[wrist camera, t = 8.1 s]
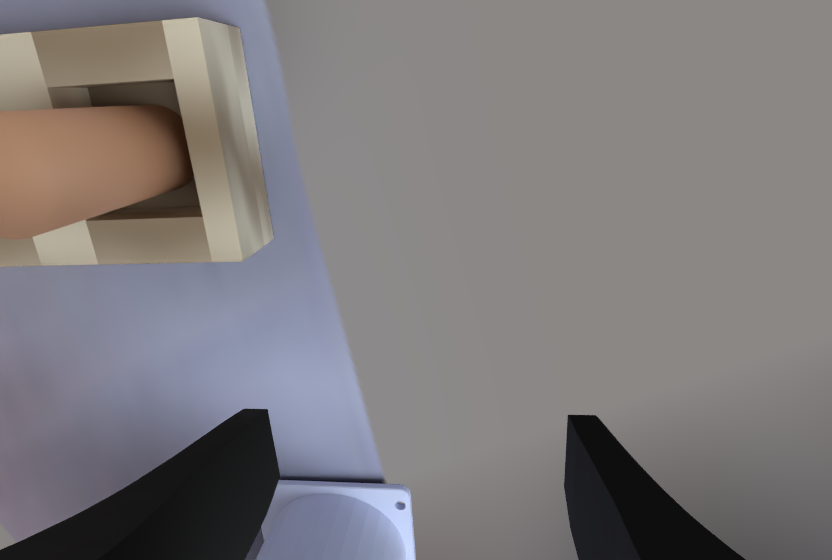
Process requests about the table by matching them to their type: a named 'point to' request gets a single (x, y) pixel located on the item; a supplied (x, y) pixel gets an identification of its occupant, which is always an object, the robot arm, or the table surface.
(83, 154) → the dowel
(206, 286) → the table surface
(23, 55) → the bore block
